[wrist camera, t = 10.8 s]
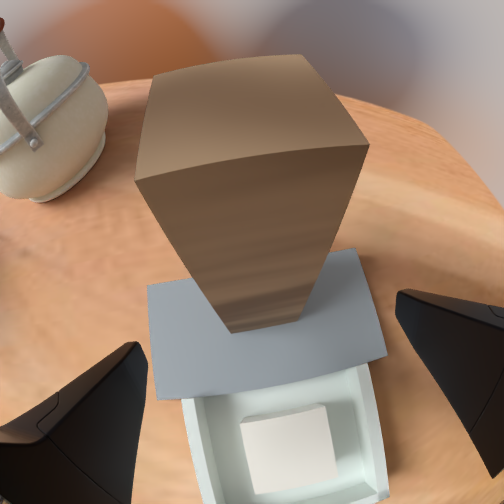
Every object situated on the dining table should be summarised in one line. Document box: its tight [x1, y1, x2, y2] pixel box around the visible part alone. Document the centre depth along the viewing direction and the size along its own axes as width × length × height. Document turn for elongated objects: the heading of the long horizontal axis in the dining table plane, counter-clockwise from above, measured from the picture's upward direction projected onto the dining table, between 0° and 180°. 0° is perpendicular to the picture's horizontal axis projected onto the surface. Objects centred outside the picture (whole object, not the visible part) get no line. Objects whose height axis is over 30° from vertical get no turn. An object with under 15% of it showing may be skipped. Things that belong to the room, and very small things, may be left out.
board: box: [147, 248, 388, 400], centre depth 19 cm, size 8×16×2 cm, turn 100°
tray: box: [181, 363, 390, 504], centre depth 14 cm, size 10×12×3 cm
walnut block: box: [134, 55, 370, 334], centre depth 12 cm, size 4×4×15 cm
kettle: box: [0, 18, 108, 203], centre depth 19 cm, size 25×18×25 cm
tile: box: [240, 403, 338, 495], centre depth 14 cm, size 5×5×3 cm
